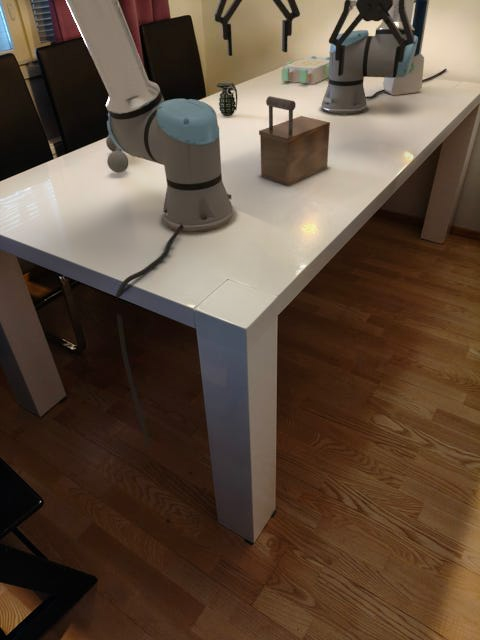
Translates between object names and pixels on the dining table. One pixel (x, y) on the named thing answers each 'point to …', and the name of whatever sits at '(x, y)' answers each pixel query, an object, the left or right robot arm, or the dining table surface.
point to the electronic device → (415, 74)
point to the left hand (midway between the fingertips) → (257, 53)
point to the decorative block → (306, 70)
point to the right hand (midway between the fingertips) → (367, 75)
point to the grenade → (227, 99)
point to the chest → (294, 157)
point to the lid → (290, 122)
